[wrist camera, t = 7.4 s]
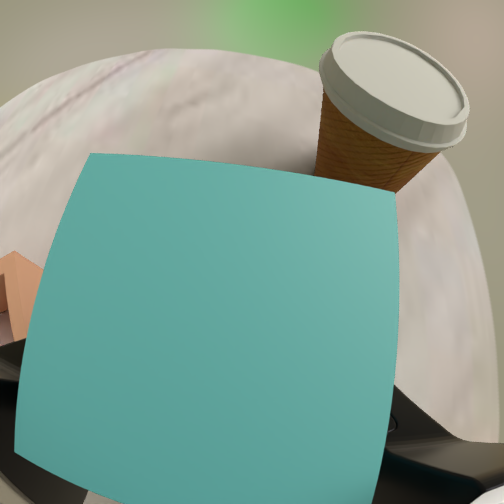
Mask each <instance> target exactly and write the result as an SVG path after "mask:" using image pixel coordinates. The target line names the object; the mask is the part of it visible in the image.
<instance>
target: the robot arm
mask: <svg viewBox="0 0 504 504" xmlns="http://www.w3.org/2000/svg"><path fill="white" fill-rule="evenodd" d="M25 343H26V338H24V339H21V340H18V341H15V342H12V343H9V344H6V345H3V346H0V504H83V502H84V500H85V497H86V495H87V493H88V490H87V489H84V488H82V487H80V486H78V485H75V484H73V483H71V482H69V481H67V480H65V479H63V478H61V477H59V476H57V475H55V474H53V473H51V472H49V471H47V470H45V469H43V468H41V467H39V466H38V465H36V464H34V463H32V462H30V461H29V460H27V459H25V458H24V457H22V456H20V455H19V454H17V453H15V452H14V445H15V421H16V408H17V397H18V388H19V380H20V373H21V366H22V360H23V354H24V348H25ZM371 504H504V443H483V442H470V441H465V440H462V439H460V438H457V437H456V436H454V435H452V434H451V433H450V432H448V431H447V430H446V429H445V428H443V427H442V426H441V425H440V424H439V423H437V422H436V421H435V420H434V419H432V418H431V417H430V416H429V415H428V414H426V413H425V412H424V411H423V410H422V409H420V408H419V407H418V406H417V405H416V404H415V403H414V402H412V401H411V400H410V399H409V398H408V397H407V396H406V395H405V394H404V393H403V392H402V391H400V390H399V389H398V388H397V387H396V386H395V385H394V387H393V395H392V403H391V410H390V417H389V424H388V430H387V436H386V441H385V447H384V452H383V457H382V462H381V466H380V471H379V475H378V480H377V484H376V488H375V492H374V496H373V500H372V503H371Z"/></svg>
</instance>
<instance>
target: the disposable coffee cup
mask: <svg viewBox="0 0 504 504" xmlns="http://www.w3.org/2000/svg"><path fill="white" fill-rule="evenodd" d="M319 73H320V77H321V80H322V84H323V92H324V93H323V101H322V108H321V122H320V129H319V140H318V147H317V156H316V166H315V172H314V176H316V177H322V178H327V179H333V180H338V181H343V182H348V183H353V184H358V185H363V186H368V187H372V188H377V189H382V190H386V191H390V192H395V194H396V193H397V192H398V191H399V190H400V189H401V188H402V187H403V186H404V185H406V184H407V183H408V182H409V181H410V180H411V179H412V178H413V177H414V176H415V175H416V174H417V173H418V172H419V171H421V170H422V169H423V168H424V167H425V166H426V165H427V164H428V163H429V162H430V161H431V160H432V159H433V158H435V157H436V156H437V155H438V154H439V153H440V152H441V151H443V150H445V149H448V148H450V147H453V146H454V145H456V144H458V143H459V142H460V141H461V140H462V138H463V137H464V136H465V133H466V128H467V121H466V120H467V118H468V115H469V110H470V107H469V101H468V98H467V96H466V94H465V92H464V90H463V88H462V86H461V85H460V83H459V82H458V81H457V79H456V78H455V77H454V76H453V75H452V74H451V72H450V71H449V70H448V69H446V68H445V67H444V66H443V65H442V64H441V63H439V62H438V61H437V60H436V59H434V58H433V57H432V56H430V55H429V54H427V53H426V52H424V51H423V50H421V49H419V48H417V47H415V46H413V45H412V44H410V43H407V42H404V41H402V40H400V39H397V38H395V37H391V36H387V35H384V34H381V33H374V32H365V31H360V32H349V33H346V34H343V35H341V36H339V37H338V38H337V39H336V40H335V41H334V43H333V44H332V46H331V48H329V49H327V51H326V52H325V53H324V54H323V55H322V57H321V59H320V62H319Z"/></svg>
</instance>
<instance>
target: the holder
mask: <svg viewBox="0 0 504 504" xmlns="http://www.w3.org/2000/svg"><path fill="white" fill-rule="evenodd" d="M42 274H43V269H42V268H40V267H39V266H37V265H35V264H34V263H32V262H31V261H29V260H28V259H26V258H25V257H23V256H22V255H20V254H19V253H17V252H16V251H13V252H11V253H10V254H8V255H6V256H4V257H3V258H1V259H0V313H1V312H3V311H5V310H7V309H9V316H10V322H11V328H12V333H13V338H14V342H15V341H18V340H21V339H24V338H27V333H28V328H29V323H30V319H31V315H32V311H33V306H34V302H35V299H36V295H37V291H38V287H39V284H40V280H41V277H42Z"/></svg>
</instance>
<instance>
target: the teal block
mask: <svg viewBox="0 0 504 504" xmlns="http://www.w3.org/2000/svg"><path fill="white" fill-rule="evenodd" d="M398 322H399V246H398V227H397V212H396V200H395V192H390V191H386V190H382V189H377V188H372V187H368V186H363V185H358V184H353V183H348V182H343V181H338V180H333V179H327V178H322V177H316V176H311V175H305V174H299V173H293V172H286V171H280V170H273V169H267V168H260V167H252V166H245V165H237V164H229V163H220V162H211V161H202V160H192V159H181V158H169V157H157V156H142V155H124V154H101V153H90V155H89V157H88V159H87V161H86V163H85V165H84V167H83V170H82V172H81V174H80V176H79V178H78V180H77V183H76V185H75V187H74V189H73V192H72V194H71V196H70V199H69V201H68V203H67V206H66V208H65V211H64V213H63V216H62V218H61V221H60V224H59V226H58V229H57V232H56V234H55V237H54V240H53V243H52V246H51V249H50V252H49V255H48V258H47V261H46V264H45V267H44V270H43V274H42V277H41V280H40V284H39V287H38V291H37V295H36V299H35V302H34V306H33V311H32V315H31V319H30V323H29V328H28V333H27V338H26V343H25V348H24V354H23V360H22V366H21V373H20V380H19V388H18V397H17V408H16V421H15V445H14V452H15V453H17V454H19V455H20V456H22V457H24V458H25V459H27V460H29V461H30V462H32V463H34V464H36V465H38V466H39V467H41V468H43V469H45V470H47V471H49V472H51V473H53V474H55V475H57V476H59V477H61V478H63V479H65V480H67V481H69V482H71V483H73V484H75V485H78V486H80V487H82V488H84V489H87V490H89V491H92V492H94V493H96V494H99V495H101V496H104V497H107V498H109V499H112V500H115V501H117V502H120V503H123V504H371V503H372V500H373V496H374V492H375V488H376V484H377V480H378V475H379V471H380V466H381V462H382V457H383V452H384V447H385V441H386V436H387V430H388V424H389V417H390V410H391V403H392V395H393V387H394V378H395V367H396V356H397V341H398Z"/></svg>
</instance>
